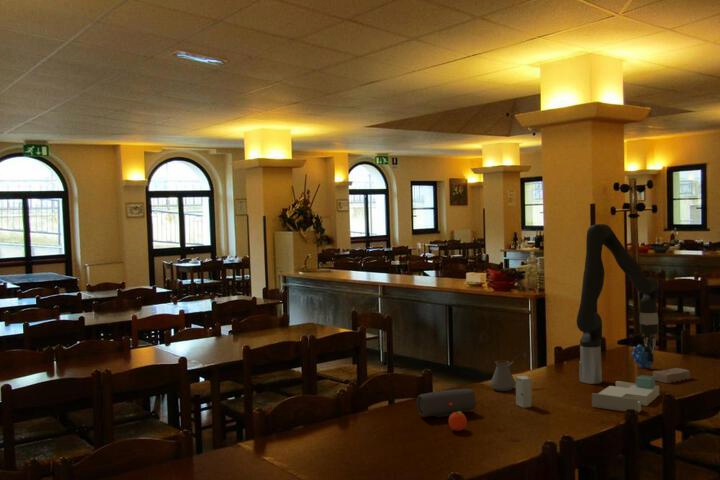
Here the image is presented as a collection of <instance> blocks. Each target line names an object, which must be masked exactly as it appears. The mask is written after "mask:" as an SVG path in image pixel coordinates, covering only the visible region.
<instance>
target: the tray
mask: <svg viewBox="0 0 720 480" xmlns="http://www.w3.org/2000/svg"><path fill="white" fill-rule="evenodd" d="M657 396H658V397H659V396H660V386H659V385H655V386H654V387H653V388H652V389H648V388H640V387H636V382H629V381H628V382H627V381H621V380H616V381H615V386H614V385H609V386H607V387H606V388H604V389H602V390H601V391H600V392H597V393H596V392H595V393H594V392H591V407H592V408H599V409H604V410H605V409H606V410H612V411H619V412H625V411H626V410H627V409H634V410H636V411H637V412H638V413H637V414H639V413H640V412H641V411H642V406H644V407H645V406H646V407H647V406H648V405H650V404H651V403H652V402H653V401H654V400H655V399H656V398H658V397H657Z"/></svg>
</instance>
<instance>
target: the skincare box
mask: <svg viewBox="0 0 720 480" xmlns="http://www.w3.org/2000/svg"><path fill="white" fill-rule="evenodd" d="M515 382H516V384H515V404H516V405H517V406H518V407H521V408H525V409H526V408H531V407H532V378H531V377H529V376H527V375H518V376H515Z"/></svg>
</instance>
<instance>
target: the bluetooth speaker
mask: <svg viewBox="0 0 720 480" xmlns="http://www.w3.org/2000/svg"><path fill="white" fill-rule="evenodd" d="M476 404H477V401H476V397H475V393H474V390H473V389H471V388H460V389H448V390H441V391H433V392H427V393H421V394H418V395H417V398H416V408H417V412H418V414H419V415H420V416H422V417H423V416H424V417H425V416H426V417H427V416H434V417H435V418H444V417H450V415H451V414H453V413H454V412H461V413H462V412H467V411H471V410H473V409H475V408H476Z"/></svg>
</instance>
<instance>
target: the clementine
mask: <svg viewBox="0 0 720 480" xmlns="http://www.w3.org/2000/svg"><path fill="white" fill-rule="evenodd" d="M467 423H468V420H467V417H466V415H465V414H464V411H462V412H454V413H453V414H451V415H450V416H448V425H449V427H450V428H451V429H452V430H453V431H457V432H460V431H463V430H465V428H466V427H467Z"/></svg>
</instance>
